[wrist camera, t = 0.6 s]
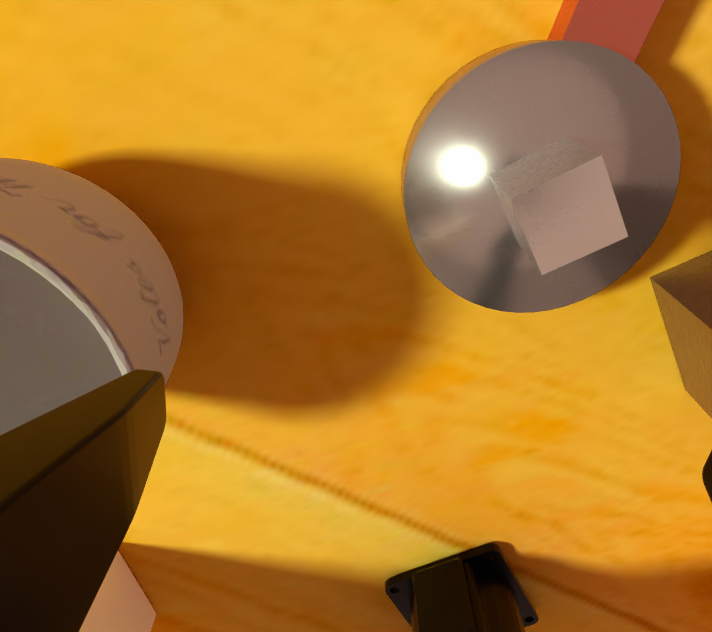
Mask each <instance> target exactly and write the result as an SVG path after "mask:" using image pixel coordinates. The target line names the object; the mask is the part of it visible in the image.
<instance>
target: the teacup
mask: <svg viewBox="0 0 712 632" xmlns="http://www.w3.org/2000/svg"><path fill="white" fill-rule="evenodd" d="M183 323H184V315H183V299H182V295H181V291H180V286H179V283H178V280H177V277H176V274H175V271H174V268H173V266H172V264H171V262H170V260H169V258H168V256H167V254H166V252H165V251H164V249H163V247H162V246H161V244H160V243H159V241H158V240H157V238H156V237H155V236H154V234H153V233H152V232H151V231H150V229H149V228H148V227H147V226H146V225H145V223H144V222H143V221H142V220H141V219H140V218H139V217H138V216H137V215H136V214H135V213H134V212H133V211H132V210H130V209H129V208H128V207H127V206H126V205H125V204H124V203H122V202H121V201H120V200H118V199H117V198H116V197H114V196H113V195H112V194H110V193H108V192H107V191H105V190H104V189H102V188H100V187H99V186H97V185H95V184H94V183H92V182H90V181H88V180H86V179H85V178H82V177H80V176H78V175H75V174H73V173H70V172H68V171H65V170H63V169H60V168H57V167H54V166H50V165H46V164H42V163H38V162H33V161H27V160H20V159H9V158H0V435H2V434H4V433H6V432H8V431H10V430H12V429H14V428H16V427H18V426H20V425H22V424H24V423H26V422H28V421H30V420H32V419H34V418H36V417H38V416H41V415H43V414H45V413H47V412H49V411H51V410H53V409H55V408H57V407H59V406H61V405H63V404H65V403H67V402H69V401H71V400H73V399H75V398H77V397H79V396H82V395H84V394H86V393H88V392H90V391H92V390H94V389H96V388H98V387H100V386H102V385H104V384H106V383H108V382H110V381H112V380H114V379H116V378H118V377H120V376H123V375H125V374H127V373H129V372H131V371H133V370H136V369H141V370H150V371H159V372H161V373H162V374H163V377H164V381H165V386H166V384H167V381H168V379H169V377H170V374H171V372H172V369H173V367H174V365H175V362H176V359H177V356H178V352H179V349H180V345H181V340H182V335H183Z"/></svg>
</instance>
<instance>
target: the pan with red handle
mask: <svg viewBox="0 0 712 632" xmlns="http://www.w3.org/2000/svg"><path fill="white" fill-rule="evenodd" d="M663 2H664V0H564V1H563V3H562V6H561V8H560V11H559V13H558V15H557V18H556V20H555V23H554V25H553V27H552V30H551V32H550V35H549V37H548V39H547V40H530V41H524V42H519V43H513V44H510V45H506V46H503V47H500V48H497V49H494V50H492V51H490V52H488V53H486V54H483V55H481V56H479V57H477V58H476V59H474V60H473V61H471V62H469V63H468V64H466V65H465V66H463V67H462V68H460V69H459V70H458V71H457V72H456V73H454V74H453V75H452V76H451V77H450V78H448V79H447V80H446V81H445V82H444V83H443V84H442V85H441V87H440V88H439V89H438V90H437V91H436V92H435V93H434V94H433V96H432V97H431V98H430V100H429V101H428V102H427V104H426V105H425V106H424V108H423V110H422V111H421V113H420V115H419V117H418V119H417V120H416V122H415V124H414V126H413V129H412V131H411V134H410V136H409V139H408V142H407V145H406V149H405V153H404V157H403V164H402V171H401V192H402V200H403V206H404V210H405V215H406V219H407V223H408V227H409V230H410V234H411V237H412V240H413V242H414V244H415V247H416V249H417V251H418V253H419V255H420V256H421V258H422V260H423V261H424V263H425V265H426V266H427V267H428V268H429V270H430V271H431V272H432V273H433V275H434V276H435V277H436V278H437V279H438V280H439V281H441V282H442V283H443V284H444V285H445V286H446V287H447V288H449V289H450V290H452V291H453V292H454V293H456V294H457V295H459V296H461V297H463V298H464V299H466V300H468V301H470V302H472V303H475V304H478V305H481V306H483V307H486V308H490V309H495V310H499V311H506V312H516V313H523V312H539V311H547V310H552V309H556V308H560V307H564V306H567V305H570V304H573V303H575V302H578V301H581V300H583V299H585V298H587V297H589V296H591V295H593V294H595V293H597V292H599V291H600V290H602V289H604V288H605V287H607V286H608V285H610V284H611V283H613V282H614V281H615V280H617V279H618V278H619V277H620V276H622V275H623V274H624V273H626V272H627V271H628V270H629V269H630V268H631V267H632V266H633V265H634V264H635V263H636V262H637V261H638V260H639V259H640V258H641V256H642V255H643V254H644V253H645V252H646V250H647V249H648V248H649V247H650V245H651V244H652V242H653V241H654V239H655V238H656V236H657V235H658V233H659V232H660V230H661V228H662V226H663V224H664V222H665V220H666V218H667V216H668V214H669V212H670V209H671V206H672V204H673V201H674V198H675V195H676V190H677V186H678V182H679V176H680V166H681V148H680V138H679V133H678V127H677V124H676V121H675V118H674V115H673V112H672V109H671V107H670V105H669V103H668V101H667V99H666V97H665V96H664V94H663V92H662V91H661V89H660V88H659V87H658V85H657V84H656V83H655V81H654V80H653V79H652V78H651V77H650V76H649V75H648V74H647V73H646V72H645V71H644V70H643V69H642V68H641V67H640V66H638V65H637V64H635V63H634V62H635V60H636V58H637V56H638V54H639V52H640V50H641V48H642V46H643V43H644V41H645V39H646V37H647V35H648V33H649V31H650V29H651V27H652V25H653V23H654V21H655V19H656V17H657V15H658V13H659V11H660V9H661V7H662V5H663Z"/></svg>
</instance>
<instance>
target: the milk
mask: <svg viewBox="0 0 712 632" xmlns="http://www.w3.org/2000/svg"><path fill="white" fill-rule="evenodd" d="M155 617H156V612H155V610H154V609H153V607H152V605H151V604H150V602H149V600H148V599H147V597H146V595H145V594H144V592H143V591H142V589H141V587H140V586H139V584H138V582H137V581H136V579H135V577H134V576H133V574H132V572H131V571H130V569H129V567H128V566H127V564H126V562H125V561H124V559H123V557H122V556H121V554H120V552H119V551H118V552H117V554H116V556H115V558H114V560H113V562H112V564H111V566H110V568H109V570H108V572H107V574H106V576H105V579H104V581H103V583H102V585H101V587H100V589H99V591H98V593H97V595H96V597H95V599H94V601H93V603H92V606H91V608H90V610H89V612H88V614H87V616H86V618H85V620H84V622H83V624H82V626H81V628H80V631H79V632H150V631H151V628H152V626H153V623H154V620H155Z"/></svg>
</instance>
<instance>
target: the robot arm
mask: <svg viewBox="0 0 712 632" xmlns="http://www.w3.org/2000/svg"><path fill="white" fill-rule="evenodd" d="M165 423H166V401H165V381H164V377H163V374H162V373H161V372H159V371H150V370H141V369H136V370H133V371H131V372H129V373H127V374H125V375H123V376H120V377H118V378H116V379H114V380H112V381H110V382H108V383H106V384H104V385H102V386H100V387H98V388H96V389H94V390H92V391H90V392H88V393H86V394H84V395H82V396H79V397H77V398H75V399H73V400H71V401H69V402H67V403H65V404H63V405H61V406H59V407H57V408H55V409H53V410H51V411H49V412H47V413H45V414H43V415H41V416H38V417H36V418H34V419H32V420H30V421H28V422H26V423H24V424H22V425H20V426H18V427H16V428H14V429H12V430H10V431H8V432H6V433H4V434H2V435H0V632H79V631H80V628H81V626H82V624H83V622H84V620H85V618H86V616H87V614H88V612H89V610H90V608H91V606H92V603H93V601H94V599H95V597H96V595H97V593H98V591H99V589H100V587H101V585H102V583H103V581H104V579H105V576H106V574H107V572H108V570H109V568H110V566H111V564H112V562H113V560H114V558H115V556H116V554H117V552H118V549H119V547H120V545H121V543H122V541H123V539H124V537H125V535H126V533H127V531H128V529H129V526H130V524H131V522H132V520H133V517H134V515H135V513H136V510H137V507H138V504H139V502H140V499H141V496H142V493H143V490H144V487H145V484H146V481H147V478H148V475H149V472H150V470H151V467H152V464H153V461H154V458H155V455H156V452H157V449H158V446H159V443H160V440H161V437H162V435H163V432H164V428H165ZM702 477H703V482H704V485H705V488H706V490H707V493H708V495H709V497H710V500H711V502H712V451H711V453H710V455H709V457H708V459H707V461H706V463H705V465H704V467H703V472H702ZM385 591H386V594H387V595H388V596H389V598H390V599H391V600H392V602H393V603H394V604H395V606H396V607H397V608H398V610H399V611H400V612H401V614H402V615H403V616H404V618H405V619H406V620H407V622H408V623H409V624H410V625H411V627H412V632H525V628H524V627H526V626H530V625H533V624H535V623H536V622H537V621H538V616H537V613H536V610H535V608H534V606H533V605H532V603H531V601H530V599H529V598H528V596H527V594H526V593H525V591H524V589H523V588H522V586H521V584H520V582H519V581H518V579H517V577H516V576H515V574H514V572H513V570H512V569H511V567H510V565H509V564H508V562H507V560H506V558H505V557H504V555H503V553H502V552H501V550H500V548H499V547H498V546H497V545H494V544H488V545H485V546H482V547H479V548H476V549H473V550H470V551H467V552H464V553H462V554H459V555H456V556H453V557H450V558H447V559H444V560H441V561H438V562H435V563H433V564H430V565H427V566H424V567H421V568H418V569H415V570H412V571H409V572H407V573H404V574H401V575H398V576H395V577H392V578H390V579H388V580H387V581H386V582H385Z"/></svg>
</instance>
